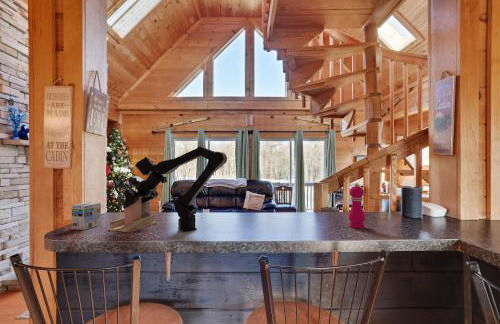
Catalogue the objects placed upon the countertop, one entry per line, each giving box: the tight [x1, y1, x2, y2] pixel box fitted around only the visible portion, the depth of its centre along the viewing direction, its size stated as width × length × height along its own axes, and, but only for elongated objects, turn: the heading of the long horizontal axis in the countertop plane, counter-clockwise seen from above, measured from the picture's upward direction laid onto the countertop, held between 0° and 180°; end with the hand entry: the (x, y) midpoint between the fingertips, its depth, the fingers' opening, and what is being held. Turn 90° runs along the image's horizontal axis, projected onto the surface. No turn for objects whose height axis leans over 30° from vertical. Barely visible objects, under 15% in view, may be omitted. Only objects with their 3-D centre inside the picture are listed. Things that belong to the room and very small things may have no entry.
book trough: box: [107, 200, 157, 233], centre depth 130 cm, size 12×18×11 cm, turn 165°
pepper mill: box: [347, 182, 366, 230], centre depth 128 cm, size 7×7×20 cm
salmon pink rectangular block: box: [124, 196, 141, 226], centre depth 130 cm, size 4×6×14 cm, turn 165°
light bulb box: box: [71, 201, 102, 231], centre depth 129 cm, size 11×7×11 cm, turn 168°
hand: (130, 206), depth 130 cm, fingers open, 9 cm apart
